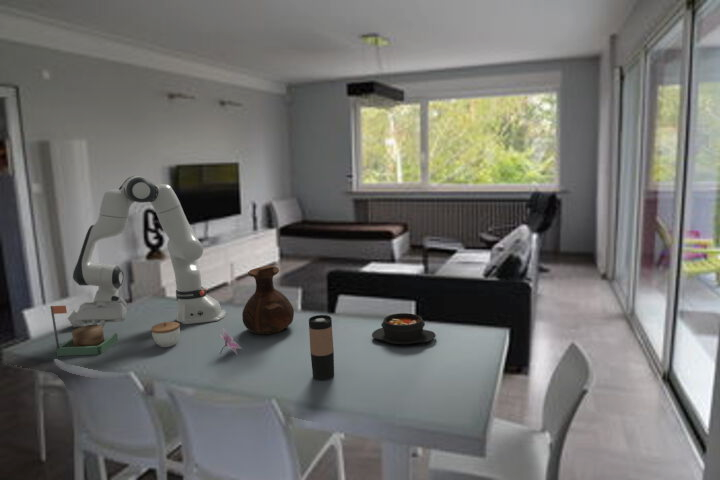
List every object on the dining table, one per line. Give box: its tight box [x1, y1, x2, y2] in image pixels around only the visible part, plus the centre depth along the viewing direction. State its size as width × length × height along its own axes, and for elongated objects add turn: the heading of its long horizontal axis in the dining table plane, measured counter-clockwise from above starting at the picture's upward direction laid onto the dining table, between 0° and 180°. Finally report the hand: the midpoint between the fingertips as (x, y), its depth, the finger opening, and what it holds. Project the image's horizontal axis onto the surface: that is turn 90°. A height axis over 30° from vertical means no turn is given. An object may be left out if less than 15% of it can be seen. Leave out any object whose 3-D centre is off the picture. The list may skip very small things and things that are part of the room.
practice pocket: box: [49, 305, 119, 357], centre depth 202 cm, size 17×14×20 cm
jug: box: [241, 265, 295, 335], centre depth 212 cm, size 22×22×30 cm
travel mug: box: [308, 314, 335, 382], centre depth 166 cm, size 8×8×20 cm
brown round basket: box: [71, 324, 105, 347], centre depth 204 cm, size 11×11×8 cm
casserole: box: [371, 312, 437, 345], centre depth 197 cm, size 25×19×8 cm
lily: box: [219, 327, 242, 355], centre depth 191 cm, size 11×11×9 cm
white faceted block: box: [67, 308, 88, 328], centre depth 231 cm, size 8×9×10 cm
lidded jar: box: [150, 321, 181, 348], centre depth 203 cm, size 11×11×9 cm
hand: (96, 331), depth 210 cm, fingers closed, pressing on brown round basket
